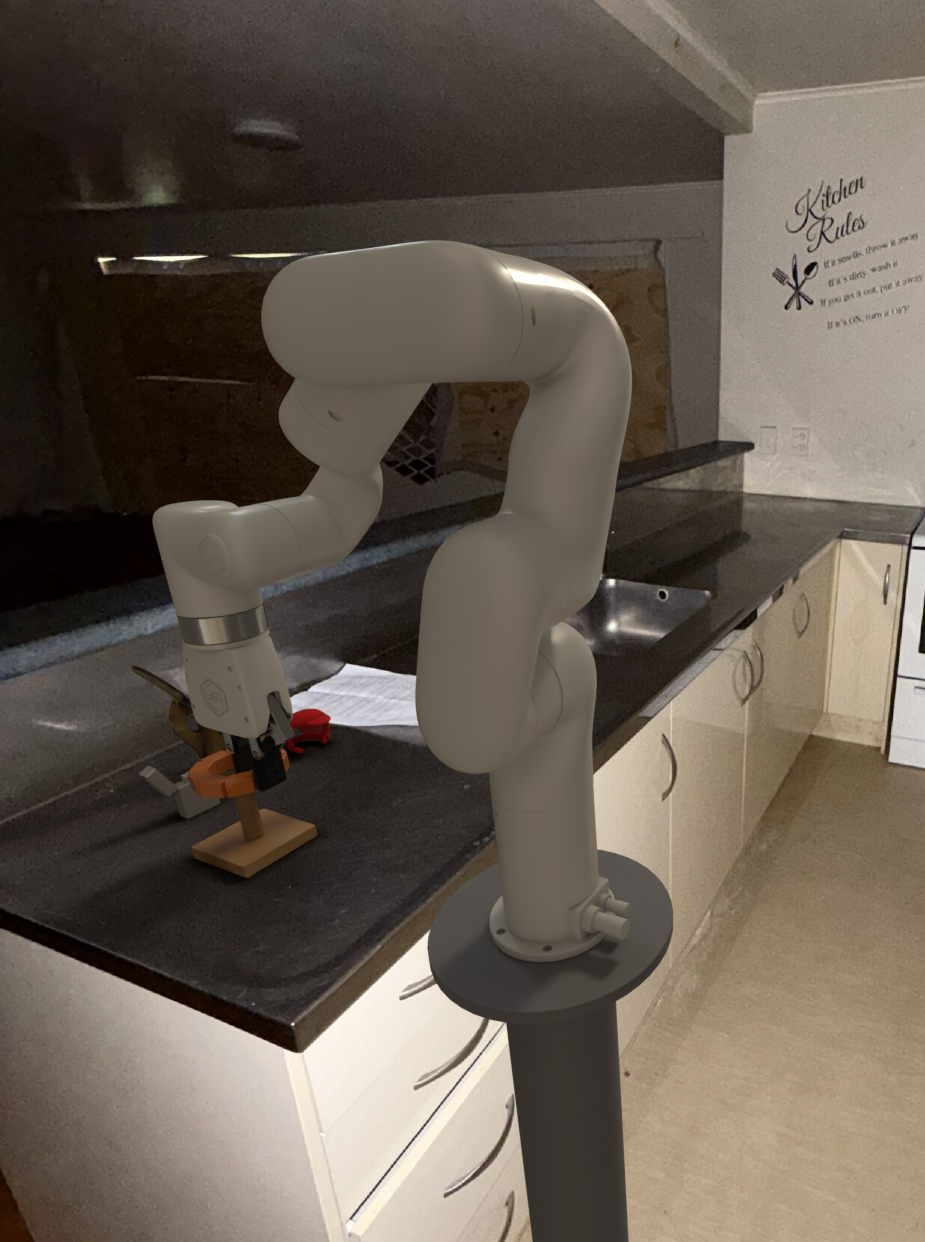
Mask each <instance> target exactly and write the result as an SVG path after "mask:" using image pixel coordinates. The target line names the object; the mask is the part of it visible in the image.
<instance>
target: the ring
mask: <svg viewBox="0 0 925 1242" xmlns="http://www.w3.org/2000/svg"><path fill="white" fill-rule="evenodd" d="M232 753H234V752H229V751H228V750H227V749H226V751H222V750H221V751H219V752H217V753H214V754H212V755H210V756H208V757H205V758H203V759H201V762H198V761H196V762H195V764H194V765H192V767H191V768H190V769H189V770H188V771H187V772H188V778H189V782H190V785H191V788H192V790H193V791H194V792H195V793H196V794H197V795H198V796H202V797H207V798H219V799H225V798H226V797H227V798H228V799H231V798H234V797H235V796H239V795H244V794H248V793H252V792H255V793H256V790H257V788H256V784H255V780H254V776H253V772H252V770H250V771H247V772H243V773H238V774H233V775H229V776H225V775H219V774H221V773H223V772H225V771H227V770H229V769H232V768H234V764H233V760H232V757H231V754H232ZM281 754H282V759H283V763H284V767H285V772H286V773H287V772H288V770H289V769H290V761H289V756H288V752H287V750H286V749H284V748H283V749H281Z"/></svg>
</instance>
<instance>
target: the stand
mask: <svg viewBox="0 0 925 1242" xmlns="http://www.w3.org/2000/svg"><path fill="white" fill-rule="evenodd" d="M234 774H236V773H234ZM232 775H233V774H232ZM233 799H234V803H235V806H236V810H237V814H238V818H239V819H238V820H239V821H237V822H235V823H233V824H232V825H230V826H228V827H225V828H224V829H222V830H220V831H218V832H216V833H215V834H213V835H211V836H209V837H207V838H205V839H204V840H201V841H199V842H197V843H195V844H194V845H192V846H191V847H190V849H191V853H192V856H193V859H196V860H199V861H201V862H204V863H206V864H209V865H211V866H213V867H217V868H219V869H222V870H223V871H224V870H225V871H227V872H230V873H232V874H235V875H237V876H240V877H243V878H245V879H248V878H250V877H252V876H253V875H255V874H256V873H258V872H260V871H262V870H264V869H265V868H267V867H268V866H270V865H271V864H273V863H275V862H277V861H278V860H279V859H282V858H283V857H285V856H287V855H288V854H289V853H291V852H293V851H295V850H296V849H298V848H299V847H301V846H303V845H304V844H306V843H307V842H309V841H311V840H313V839H315V838H316V837H317V836H318V831H317V827H316V824H313V823H310V822H307V821H304V820H301V819H299V818H298V819H297V818H295V817H291V816H289V815H286V814H282V813H280V812H276V811H274V810H270V809H268V808H262V809H260V808H259V805H258V801H257V797H256V791H255V792H252V793H248V794H244V795H239V796H235V797H233Z"/></svg>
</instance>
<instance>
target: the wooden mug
mask: <svg viewBox="0 0 925 1242" xmlns="http://www.w3.org/2000/svg"><path fill="white" fill-rule="evenodd" d="M131 671H132V672H133V673H134V674H136V675H137V676H139V677H141V678H142V679H143V680H145V681H147V682H149V683H151V684H152V685H153V686H155V687H157V688H159V689H160V690H161V691H163V692H164V693H166V694H167V695H169V696H170V697H172V699H171V704H170V706H169V709H168V710H169V712H168V719H169V726H170V728H171V730H172V731H173V733H174V735H175V736H177V738H179V739H180V740H181V741H182V742H184V743H185V744H186V745H188V746H189V747H191V748H192V749H193V750H194V751H195V752H196V754H197V756H198V761H197V762H201V759H203V758H205V757H208V756H210V755H212V754H214V753H217V752H219V751H221V750H222V751H226V749H227V748H226V746H225V741H224V737H223V736H222V735H221V734H220V733H219V731H217V730H213V729H210V728H207V727H204V726H202V725H200V724H199V723H198V722H197V721H196V720H195V717H194V714H193V710H192V706H191V702H190V697H189V695H186V694H185V693H184V692H182V691H181V690H179V689H178V688H176V687H175V686H173V685H172V684H171V683H169V682H167V681H166V680H164V679H163V678H162V677H160V676H158V675H157V674H154V673H153V672H152V671H149V670H147V669H146V668H144V667H142V666H137V665H133V664H132V665H131ZM191 715H192V720H194V721H196V725H197V730H191V729H190V728H189V727H188V725H187V719H188V717H190V716H191ZM265 737H266V736H265V735H263V736H260V739H261V742H262V741H263V739H264V738H265ZM234 773H236V772H235V768H232V769H229V770H227V771H225V772H223V773H221V774H219V775H225V776H229V775H232V774H234Z"/></svg>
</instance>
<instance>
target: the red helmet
mask: <svg viewBox="0 0 925 1242" xmlns="http://www.w3.org/2000/svg"><path fill="white" fill-rule="evenodd" d="M331 720H332V718H331V716H330V715H328V714H326V713H325V712H324V711H322V710H320V709H318V708H304V709H301V710H300V709H299V710H297V711H295V712H293V718H292V721H291V722H290V723H289V724H290V726H291V728H292V730H293V731H294V730H295V729H297V731H299V732H300V733H301V734H300V735H295V738H293V739H291V740H289V741H287V742H285V745H286V747H287V749H288V751H290V752H292V753H296V754H299V755H303V754H304V753H305V749H304V748H301V747H300V746H299V747H298V746H295V744H296V743H299V742H303V741H307V740H317V741H320V743H321V744H322V745H326V744H327V743H328V740H330V739H331V736H330V730H331V724H330V721H331Z"/></svg>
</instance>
